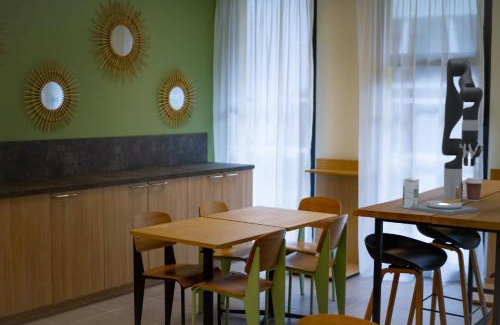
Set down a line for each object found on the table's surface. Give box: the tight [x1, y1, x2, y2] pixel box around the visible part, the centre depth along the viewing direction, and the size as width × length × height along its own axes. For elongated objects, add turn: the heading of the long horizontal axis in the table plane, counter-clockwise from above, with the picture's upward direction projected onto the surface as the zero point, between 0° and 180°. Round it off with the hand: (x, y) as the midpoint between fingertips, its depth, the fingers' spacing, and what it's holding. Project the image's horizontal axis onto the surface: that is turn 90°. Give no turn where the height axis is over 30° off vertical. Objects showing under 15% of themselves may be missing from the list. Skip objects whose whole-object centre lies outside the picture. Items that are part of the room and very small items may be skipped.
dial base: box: [410, 204, 479, 216], centre depth 314 cm, size 22×22×2 cm
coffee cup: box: [464, 177, 484, 202], centre depth 353 cm, size 9×9×12 cm
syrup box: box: [402, 177, 420, 209], centre depth 322 cm, size 6×6×14 cm
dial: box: [426, 186, 463, 209], centre depth 315 cm, size 20×16×9 cm
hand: (469, 165), depth 314 cm, fingers open, 3 cm apart
